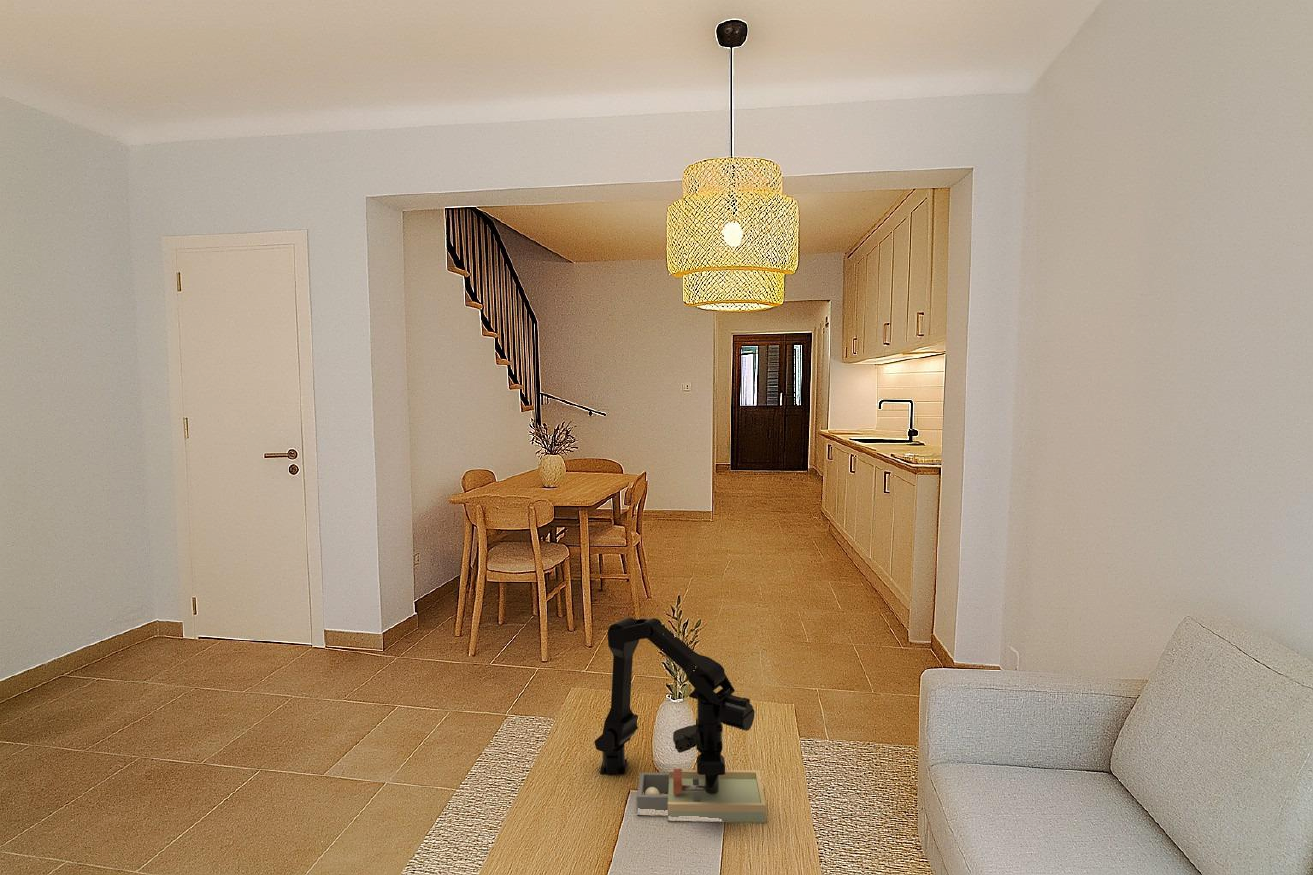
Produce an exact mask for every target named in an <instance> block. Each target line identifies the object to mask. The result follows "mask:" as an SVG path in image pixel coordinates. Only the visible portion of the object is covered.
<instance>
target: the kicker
mask: <svg viewBox="0 0 1313 875" xmlns="http://www.w3.org/2000/svg"><path fill="white" fill-rule="evenodd" d="M672 770H673V794H682V791H706V792H707V793H709V794H715V793H717V792H718V791H719V775H718V777H717V779H716V781H715V783H714V785H713V787H712V788H711V787H708V785H707V781H706V777H705V785H682V770H683V768H673V769H672Z"/></svg>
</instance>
